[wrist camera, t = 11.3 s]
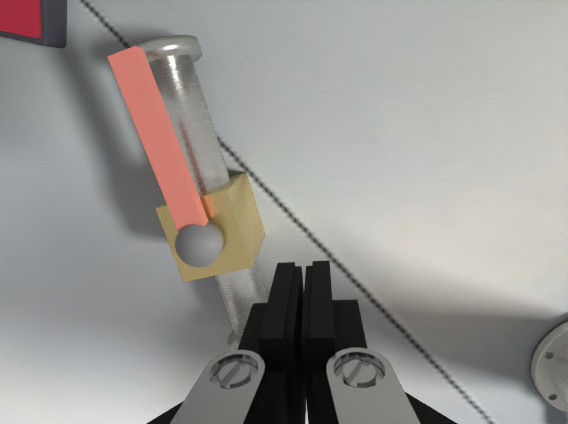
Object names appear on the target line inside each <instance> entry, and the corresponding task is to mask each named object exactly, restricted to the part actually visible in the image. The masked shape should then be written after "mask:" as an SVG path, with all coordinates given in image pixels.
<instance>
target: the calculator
mask: <svg viewBox="0 0 568 424" xmlns="http://www.w3.org/2000/svg"><path fill="white" fill-rule="evenodd" d="M66 29H67V0H0V36H2V37H7V38H11V39H16V40H20V41H25V42H29V43H34V44H38V45H43V46H50V47H57V48H64V47H65V46H66Z"/></svg>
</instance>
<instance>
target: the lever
mask: <svg viewBox="0 0 568 424" xmlns="http://www.w3.org/2000/svg"><path fill="white" fill-rule="evenodd" d="M107 58H108V60H109V62H110V65H111V67H112V70H113V72H114V75H115V77H116V80H117V82H118V85H119V87H120V90H121V92H122V95H123V97H124V99H125V102H126V104H127V107H128V109H129V112H130V114H131V117H132V119H133V122H134V124H135V127H136V129H137V132H138V134H139V136H140V139H141V141H142V144H143V146H144V149H145V151H146V154H147V156H148V159H149V161H150V164H151V166H152V168H153V171H154V173H155V176H156V178H157V181H158V183H159V186H160V188H161V191H162V193H163V196H164V198H165V201H166V203H167V205H168V208H169V210H170V213H171V215H172V218H173V220H174V223H175V225H176V228H177V230H178V235H177V236H176V239H175V249H176V252H177V254H178V256H179V258H180V259H181V260H182V261H183V262H184V263H186V264H188V265H190V266H192V267H197V268H202V267H206V266H209V265H211V264H212V263H213V262H214V261H215V260H216V259H217V257H218V256H219V254H220V253H221V251H222V249H223V247H224V236H223V233H222V231H221V229H220V228H219V227H218V226H217V225H216V224H215V223H213V222H211V221H209V220H208V219H207V216H206V213H205V211H204V208H203V205H202V203H201V200H200V197H199V195H198V192H197V190H196V187H195V184H194V182H193V179H192V176H191V174H190V171H189V168H188V166H187V163H186V161H185V158H184V155H183V153H182V150H181V147H180V145H179V142H178V139H177V137H176V134H175V132H174V129H173V126H172V124H171V121H170V118H169V116H168V113H167V110H166V108H165V105H164V102H163V100H162V97H161V95H160V92H159V89H158V87H157V84H156V81H155V79H154V76H153V73H152V71H151V68H150V66H149V63H148V60H147V58H146V55H145V52H144V50H143V48H140V47H137V46H133V47H131V48H128V49H125V50H123V51H120V52H118V53H115V54H112V55H110V56H107Z"/></svg>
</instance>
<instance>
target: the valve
mask: <svg viewBox="0 0 568 424" xmlns="http://www.w3.org/2000/svg"><path fill="white" fill-rule="evenodd" d="M136 46H137V47H140V48H143V50H144V52H145V55H146V58H147V60H148V63H149V66H150V68H151V71H152V73H153V76H154V79H155V81H156V84H157V87H158V89H159V92H160V95H161V97H162V100H163V102H164V105H165V108H166V110H167V113H168V116H169V118H170V121H171V124H172V126H173V129H174V132H175V134H176V137H177V139H178V142H179V145H180V147H181V150H182V153H183V155H184V158H185V161H186V163H187V166H188V168H189V171H190V174H191V176H192V179H193V182H194V184H195V187H196V190H197V192H198V195H199V197H200V200H201V203H202V205H203V208H204V211H205V213H206V216H207V219H208V220H209V221H211V222H213V223H215V224H216V225H217V226H218V227H219V228H220V229H221V231H222V233H223V236H224V247H223V249H222V251H221V253H220V254H219V256H218V257H217V259H216V260H215V261H214V262H213V263H212V264H211V265H209V266H206V267H202V268H197V267H192V266H190V265H188V264H186V263H184V262H183V261H182V260H181V259H180V258H179V256H178V254H177V252H176V249H175V239H176V236H177V235H178V230H177V228H176V225H175V223H174V220H173V218H172V215H171V213H170V210H169V208H168V205H167V203H166V202H165V203H163V204H162V205H160V206H158V207H157V208H155V209H156V211H157V214H158V217H159V219H160V222H161V225H162V227H163V230H164V232H165V235H166V238H167V240H168V243H169V245H170V248H171V251H172V253H173V256H174V259H175V261H176V264H177V266H178V269H179V272H180V274H181V277H182V279H183V282H187V281H192V280H197V279H201V278H206V277H211V276H215V279H216V282H217V285H218V287H219V290H220V293H221V296H222V299H223V302H224V304H225V307H226V310H227V313H228V316H229V318H230V321H231V324H232V327H233V331H232V332H231V334H230V335H229V338H228V345H229V348H230V350H231V351H234V350H237V349H238V346H239V343H240V340H241V337H242V334H243V331H244V328H245V325H246V322H247V319H248V316H249V313H250V310H251V307H252V305H253V303H267V302H268V297H267V294H266V290H265V287H264V284H263V281H262V278H261V275H260V272H259V268H258V265H257V262H256V257H257V254H258V252H259V249H260V247H261V245H262V242H263V240H264V237H265V232H264V229H263V225H262V222H261V219H260V216H259V212H258V209H257V206H256V202H255V199H254V196H253V192H252V189H251V186H250V183H249V179H248V176H247V173H242V174H238V175H234V176H230V177H229V174H228V171H227V168H226V165H225V161H224V158H223V155H222V152H221V149H220V146H219V143H218V139H217V136H216V133H215V130H214V127H213V124H212V121H211V117H210V114H209V111H208V108H207V105H206V102H205V99H204V95H203V92H202V89H201V86H200V83H199V80H198V77H197V73H196V70H195V67H194V64H193V62H194V61H196V60H198V59H199V58H200V57H201V56H202V51H201V48H200V45H199V41H198V39H197V38H196V37H194V36H190V35H174V36H167V37H161V38H157V39H153V40H149V41H146V42H143V43H140V44H138V45H136Z"/></svg>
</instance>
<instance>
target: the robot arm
mask: <svg viewBox="0 0 568 424" xmlns="http://www.w3.org/2000/svg"><path fill="white" fill-rule="evenodd" d="M531 375H532V379H533V382H534V384H535V386H536V388H537V390H538V391H539V392H540V393H541V395H542V396H543V397H544V399H546V400H547V401H548V402H549V403H550V404H551V405H553V406H554V407H556V408H558V409H559V410H562V411H564V412H567V413H568V321H567V322H565V323H563V324H562V325H560V326H559V327H557V328H555V329H554V330H553V331H552V332H550V333H549V334H548V335H547V336H546V337H545V338H544V339H543V340H542V342H541V343H540V344H539V346H538V347H537V349H536V351H535V353H534V355H533V359H532V363H531ZM306 400H307V411H308V422H309V424H457V423H455V422H454V421H452V420H450V419H449V418H447V417H446V416H444V415H442V414H441V413H439V412H437V411H436V410H434V409H432V408H431V407H429V406H427V405H426V404H424V403H422V402H421V401H419V400H417V399H416V398H414V397H413V396H411V395H409V394H408V393H406V392H404V390H403V388H402V386H401V384H400V382H399V380H398V378H397V376H396V374H395V372H394V370H393V368H392V366H391V364H390V363H389V362H388V360H387V359H386V358H385V357H384V356H382V355H381V354H379V353H378V352H375V351H373V350H370V349H367V345H366V340H365V335H364V330H363V325H362V320H361V315H360V311H359V306H358V301H357V300H332V291H331V277H330V263H329V261H313V265H312V266H306V276H305V290H304V289H303V278H302V268H301V266H297V267H295V262H289V263H278V264H277V268H276V271H275V275H274V279H273V283H272V287H271V291H270V295H269V298H268V302H267V303H253V305H252V307H251V310H250V313H249V316H248V319H247V322H246V325H245V328H244V331H243V334H242V337H241V340H240V343H239V346H238V349H237V350H234V351H229V352H226V353H224V354H221V355H219V356H217V357H216V358H215V359H213V360H212V361H211V362H210V363H209V364H208V365H207V366H206V367H205V369H204V371H203V372H202V374H201V375H200V377H199V378H198V380H197V382H196V383H195V385H194V386H193V388H192V389H191V391H190V393H189V394H188V396H187V397H186V399H185V400H184V401H183V402H182V403H180V404H178V405H177V406H175V407H173V408H172V409H170V410H168V411H167V412H165V413H163V414H162V415H160V416H158V417H157V418H155V419H153V420H152V421H150V422H148V423H147V424H305V413H306Z"/></svg>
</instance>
